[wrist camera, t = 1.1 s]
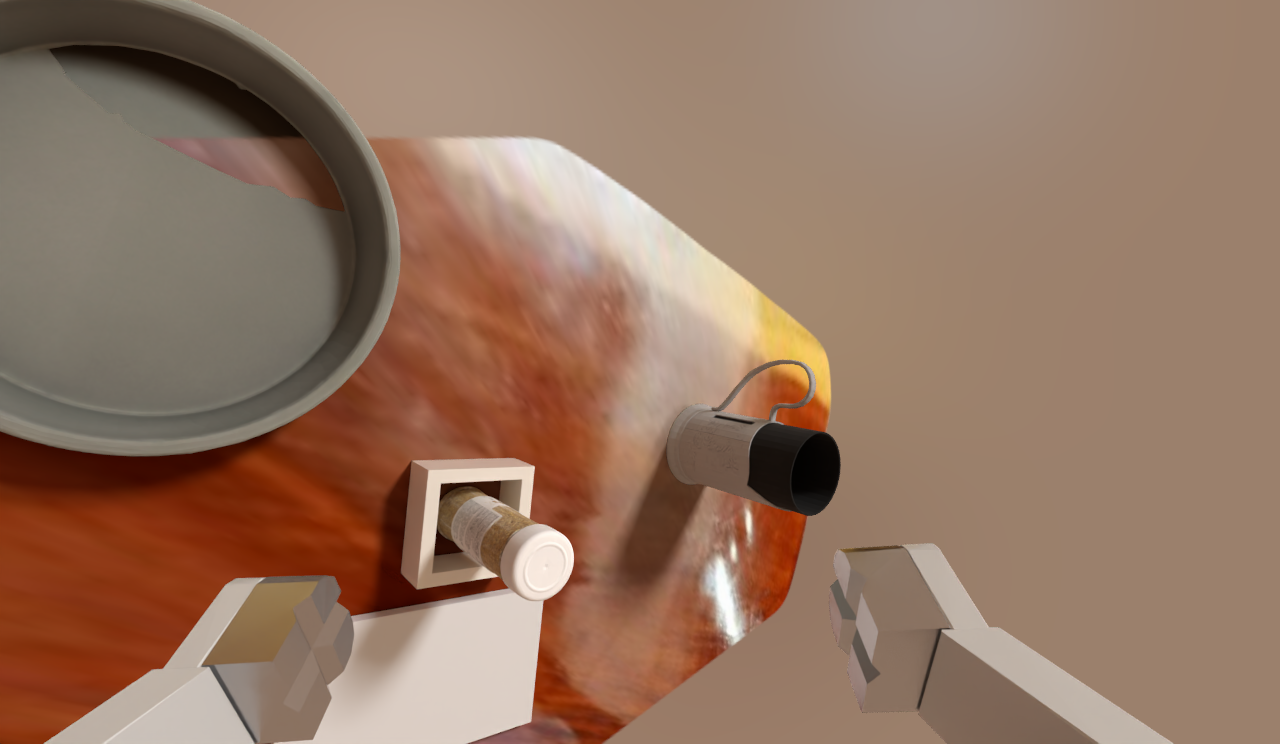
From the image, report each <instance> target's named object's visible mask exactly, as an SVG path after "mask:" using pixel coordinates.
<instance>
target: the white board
mask: <svg viewBox="0 0 1280 744" xmlns="http://www.w3.org/2000/svg"><path fill="white" fill-rule="evenodd" d="M542 608H543V600H542V601H529V600H526V599H524V598H522V597H520V596H519V595H517V594H516V593H515V592H513V591H512V590H511V589H503V590H498V591H492V592H486V593H481V594H475V595H469V596H463V597H458V598H452V599H446V600H441V601H435V602H429V603H424V604H418V605H412V606H407V607H401V608H395V609H390V610H384V611H378V612H373V613H367V614H361V615H356V616H351V618H352V620H353V628H354V640H353V646H352V652H351V656H350V658H349V660H348V663H347V665H346V667H345V670H344V672H342V673H341V674H340V675H339V676H338V677H337V678H336V679H334V680H333V681H332V682H331V683H330V684H329V685H328V686H329V690H330V693H331V696H332V699H331V701H330V703H329V706H328V708H327V710H326V712H325V714H324V717H323V719H322V721H321V723H320V725H319V728H318V730H317V732H316V734H315V736H314V739H313V740H304V741H291V742H278V743H271V744H467V743H470V742H473V741H476V740H479V739H482V738H485V737H488V736H491V735H494V734H497V733H500V732H503V731H505V730H508V729H511V728H514V727H517V726H520V725H523V724H526V723H529V722H531V716H532V706H533V696H534V686H535V676H536V667H537V657H538V647H539V637H540V627H541V618H542Z"/></svg>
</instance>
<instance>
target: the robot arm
mask: <svg viewBox="0 0 1280 744" xmlns="http://www.w3.org/2000/svg"><path fill="white" fill-rule="evenodd" d="M833 567H834V570H835V573H836V575H837V578H838V579H837V580H836V581H835V582H834V584H832V585H831V586H830V594H829V609H830V610H829V611H830V620H831V624H832V629H833V633H834V636H835V639H836V642H837V644H838V647H839V648H840V649H842V650H843V651H844V652H845V653H846V654H848V655H849V656H850V658H849V664H848V670H847V673H848V676H849V678H850V682H851V684H852V687H853V690H854V693H855V695H856V698H857V701H858V704H859V706H860V709H861V712H862V713H867V712H915V711H919V713H918V715H919V716H920V717H921V718H922V719H923V720H924V721H925V722H926V723H927V724H928V725H929V726H930V727H931V728H932V729H933V730H934V731H935V732H936V733H937V734H938V735H939V736H940V737H941V738H942V739H943V740H944V741H945V742H946V743H947V744H1173V743H1172V742H1170V741H1169V740H1167V739H1166V738H1164V737H1163V736H1161V735H1160V734H1158V733H1157V732H1155V731H1154V730H1152V729H1151V728H1149V727H1148V726H1146V725H1145V724H1143V723H1142V722H1140V721H1139V720H1137V719H1136V718H1134V717H1133V716H1131V715H1130V714H1128V713H1127V712H1125V711H1124V710H1122V709H1121V708H1119V707H1118V706H1116V705H1115V704H1113V703H1112V702H1110V701H1109V700H1107V699H1106V698H1104V697H1103V696H1101V695H1100V694H1098V693H1097V692H1095V691H1094V690H1092V689H1091V688H1089V687H1088V686H1086V685H1085V684H1083V683H1082V682H1080V681H1079V680H1077V679H1076V678H1074V677H1073V676H1071V675H1070V674H1068V673H1067V672H1065V671H1064V670H1062V669H1061V668H1059V667H1058V666H1056V665H1055V664H1053V663H1052V662H1050V661H1049V660H1047V659H1046V658H1044V657H1043V656H1041V655H1039V654H1038V653H1037V652H1035V651H1034V650H1032V649H1031V648H1029V647H1028V646H1026V645H1025V644H1023V643H1022V642H1020V641H1019V640H1017V639H1016V638H1014V637H1012V636H1011V635H1010V634H1008V633H1006V632H1005V631H1004V630H1002V629H1001V628H999V627H998V628H997V627H994V628H993V627H991V628H989V627H988V625H987V624H986V622H985V621H984V619H983V618H982V616H981V614H980V613H979V611H978V609H977V608H976V606H975V605H974V603H973V602H972V600H971V599H970V597H969V595H968V594H967V592H966V590H965V589H964V587H963V586H962V584H961V583H960V581H959V579H958V578H957V576H956V575H955V573H954V571H953V570H952V568H951V567H950V565H949V563H948V562H947V560H946V559H945V557H944V556H943V554H942V553H941V551H940V549H939V548H938V547H937V546H935V545H934V544H932V543H930V544H913V545H901V546H897V545H896V546H879V547H862V548H846V549H838V551H837V552H836V554H835V558H834V564H833ZM340 593H341V590H340V588H339V586H338V584H337V581H336V579H335V577H332V576H287V577H266V578H236V579H234V580H233V581H231V582H229V583H228V584H226V585H225V586H224V587H223V589H222V590H221V592H220V593H219V594H218V596H217V597H216V598H215V600H214V601H213V602H212V604H211V605H210V606H209V608H208V609H207V610H206V612H205V613H204V614H203V616H202V617H201V618H200V620H199V621H198V622H197V624H196V625H195V627H194V628H193V629H192V631H191V632H190V633H189V635H188V636H187V637H186V639H185V640H184V641H183V643H182V644H181V645H180V647H179V648H178V649H177V651H176V652H175V653H174V655H173V656H172V657H171V659H170V660H169V662H168V663H167V664H166V666H165V667H164V668H163V669H155V670H152V671H150V672H149V673H147V674H146V675H144V676H143V677H141V678H140V679H138V680H137V681H135V682H134V683H132V684H131V685H129V686H128V687H126V688H125V689H124V690H122V691H121V692H119V693H118V694H116V695H115V696H113V697H112V698H110V699H109V700H107V701H106V702H104V703H103V704H101V705H100V706H98V707H97V708H95V709H94V710H93V711H91V712H90V713H88V714H87V715H85V716H84V717H82V718H81V719H79V720H78V721H76V722H75V723H73V724H72V725H70V726H69V727H67V728H66V729H64V730H63V731H62V732H60V733H59V734H57V735H56V736H54V737H53V738H51V739H50V740H48V741H47V742H45V743H44V744H266V743H278V742H291V741H304V740H313V739H314V736H315V734H316V732H317V730H318V728H319V725H320V723H321V721H322V719H323V717H324V714H325V712H326V710H327V708H328V706H329V703H330V701H331V699H332V696H331V693H330V690H329V686H328V685H329V684H330V683H331V682H332V681H333V680H334V679H336V678H337V677H338V676H339V675H340V674H341V673H342V672H344V670H345V667H346V665H347V663H348V660H349V658H350V656H351V652H352V646H353V640H354V628H353V620H352V618H351V615H350V612H349V610H347V609H346V608H344V607H343V606H341V605H340V604H339V603H337V602H336V600H337V598H338V597H339V595H340Z"/></svg>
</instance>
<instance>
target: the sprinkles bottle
mask: <svg viewBox="0 0 1280 744" xmlns="http://www.w3.org/2000/svg"><path fill="white" fill-rule="evenodd" d="M437 529H438V531H439V533H440V534H441V535H442V536H443V537H445V538H446V539H448V540H450V541H453V542H454V543H455V544H456V545H457V546H458V547H459V548H460V549H461V550H463V551H464V552H465V553H467V554H468V555H469V556H471V557H472V558H473V559H474V560H476V561H477V562H478V563H480V564H481V565H482V566H484V567H485V568H486V569H487V570H489V571H490V572H492V573H494V574H496V575H497V576H499V577H500V578H501V579H502V580H503V581H504V583H505V584H506V586H507V587H508V588H509V589H511V590H512V591H513V592H515V593H516V594H517V595H519V596H520V597H522V598H524V599H526V600H529V601H542V600H545V599H548V598H550V597H552V596H553V595H555V594H556V593H557V592H559V591H560V590H561V589H562V587H563V586H564V585H565V584H566V582H567V580H568V579H569V577H570V574H571V572H572V569H573V563H574V553H573V549H572V546H571V543H570V542H569V540H568V539H567V538H566V537H565V536H564V535H563V534H561V533H560V532H558V531H556V530H555V529H553V528H551V527H549V526H547V525H543V524H538V523H536V522H534V521H532V520H530V519H529V518H527V517H525V516H524V515H522V514H521V513H520V512H518V511H516V510H514V509H513V508H511V507H509V506H507V505H505V504H504V503H502V502H500V501H498V500H496V499H495V498H492V497H489V496H487V495H485V494H484V493H483V492H482V491H481V490H479V489H478V488H475V487H472V486H462V487H459V488H456V489H454V490H452V491H450V492H449V493H447V494H446V495H445V496H444V497H443V499H442V500H441V501H440V503H439V508H438V518H437Z"/></svg>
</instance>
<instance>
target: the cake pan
mask: <svg viewBox="0 0 1280 744" xmlns="http://www.w3.org/2000/svg"><path fill="white" fill-rule="evenodd" d="M152 138H161V139H166V138H183V139H188V138H206V139H208V138H305V139H306V140H307V142H308V143H309V144H310V145H311V147H312V148H313V149H314V151H315V152H316V153H317V155H318V156H319V158H320V159H321V160H322V162H323V163H324V165H325V166H326V168H327V169H328V171H329V173H330V175H331V177H332V179H333V181H334V183H335V185H336V187H337V189H338V192H339V194H340V197H341V199H342V202H343V206H344V210H345V212H343V211H338V210H333V209H328V208H324V207H319V206H315V205H314V204H312V203H311V202H309V201H308V200H306V199H302V198H290V197H289V196H287V195H286V194H284V193H282V192H281V191H279V190H278V189H276V188H274V187H271V186H262V185H253V184H246V183H244V182H242V181H240V180H238V179H236V178H233V177H231V176H229V175H227V174H225V173H223V172H220V171H218V170H216V169H214V168H212V167H210V166H208V165H206V164H204V163H202V162H200V161H197V160H195V159H193V158H191V157H189V156H187V155H185V154H183V153H181V152H179V151H177V150H175V149H173V148H171V147H169V146H167V145H165V144H163V143H161V142H159V141H157V140H154V139H152ZM399 272H400V236H399V226H398V220H397V213H396V208H395V205H394V201H393V198H392V195H391V191H390V188H389V185H388V182H387V179H386V177H385V174H384V172H383V170H382V167H381V165H380V163H379V161H378V159H377V157H376V155H375V153H374V151H373V150H372V148H371V146H370V144H369V143H368V141H367V139H366V138H365V136H364V135H363V133H362V132H361V130H360V129H359V127H358V126H357V124H356V123H355V122H354V120H353V119H352V117H351V116H350V115H349V114H348V113H347V111H346V110H345V108H344V107H343V106H342V105H341V104H340V103H339V102H338V100H337V99H336V98H335V97H334V96H333V95H332V94H331V93H330V92H329V91H328V90H327V89H326V88H325V87H324V86H323V85H322V83H320V82H319V81H318V80H317V79H316V78H315V77H314V76H313V75H312V74H311V73H309V71H307V70H306V69H305V68H304V67H303V66H302V65H300V64H299V63H298V62H297V61H296V60H294V59H293V58H292V57H291V56H289V55H288V54H287V53H285V52H284V51H283V50H281V49H280V48H278V47H277V46H276V45H274V44H273V43H271V42H270V41H268V40H266V39H265V38H264V37H262V36H260V35H259V34H257V33H255V32H254V31H252V30H251V29H249V28H247V27H245V26H244V25H242V24H240V23H238V22H236V21H234V20H232V19H231V18H228V17H226V16H225V15H223V14H220V13H218V12H216V11H214V10H211V9H209V8H207V7H204V6H202V5H200V4H197V3H195V2H192V1H189V0H0V431H1V432H4V433H6V434H9V435H12V436H15V437H19V438H22V439H25V440H29V441H33V442H37V443H41V444H45V445H48V446H53V447H57V448H63V449H67V450H74V451H81V452H86V453H97V454H104V455H117V456H164V455H175V454H186V453H188V454H191V453H195V452H201V451H206V450H210V449H214V448H219V447H223V446H228V445H232V444H236V443H240V442H243V441H246V440H248V439H251V438H253V437H257V436H260V435H262V434H264V433H267V432H270V431H272V430H274V429H276V428H278V427H280V426H283V425H285V424H287V423H289V422H291V421H293V420H294V419H296V418H298V417H300V416H302V415H303V414H305V413H306V412H308V411H310V410H311V409H313V408H314V407H316V406H317V405H318V404H320V403H321V402H322V401H324V400H325V399H326V398H327V397H329V396H330V395H331V394H333V393H334V392H335V391H336V390H337V389H338V388H339V387H340V386H341V385H342V384H343V383H345V382H346V381H347V380H348V378H349V377H350V376H351V375H352V374H353V373H354V372H355V371H356V370H357V368H358V367H359V366H360V365H361V364H362V363H363V361H364V360H365V359H366V357H367V356H368V354H369V353H370V351H371V350H372V348H373V347H374V345H375V344H376V342H377V340H378V338H379V336H380V335H381V333H382V330H383V329H384V326H385V324H386V322H387V320H388V317H389V314H390V311H391V308H392V305H393V302H394V298H395V294H396V290H397V285H398V277H399Z"/></svg>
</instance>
